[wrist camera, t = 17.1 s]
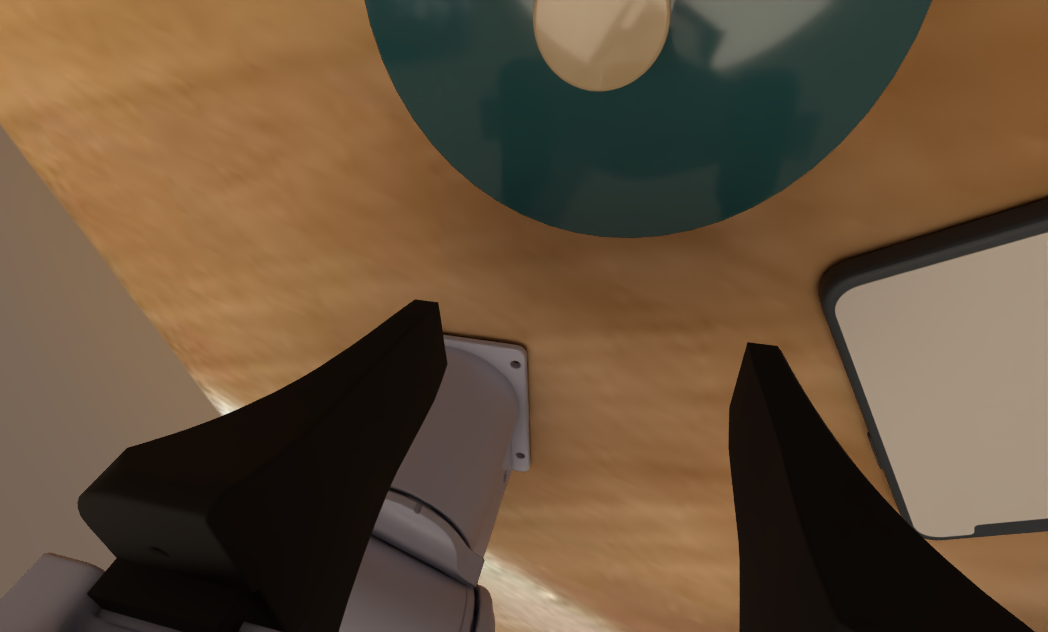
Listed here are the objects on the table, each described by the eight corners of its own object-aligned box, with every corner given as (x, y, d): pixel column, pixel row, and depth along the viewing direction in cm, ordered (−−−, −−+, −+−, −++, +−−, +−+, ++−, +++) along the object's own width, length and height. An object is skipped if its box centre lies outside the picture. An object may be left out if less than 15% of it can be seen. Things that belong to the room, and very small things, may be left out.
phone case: (804, 265, 22) (900, 517, 29) (810, 288, 21) (909, 545, 28) (1103, 173, 18) (1135, 492, 25) (1133, 194, 17) (1159, 525, 23)
